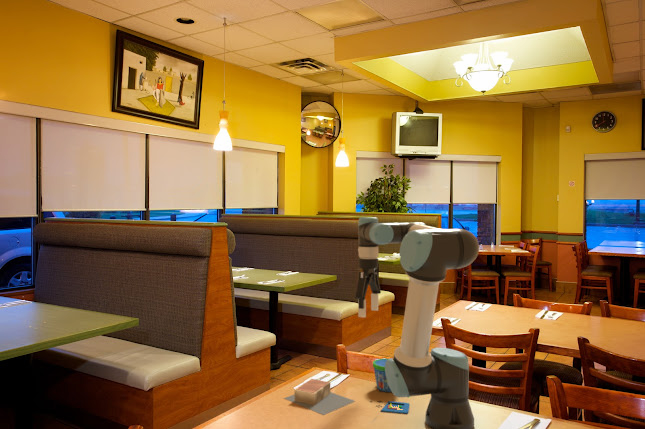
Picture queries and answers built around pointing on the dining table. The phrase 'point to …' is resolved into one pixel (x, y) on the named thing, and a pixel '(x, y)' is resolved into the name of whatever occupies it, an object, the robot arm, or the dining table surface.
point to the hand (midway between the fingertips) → (368, 313)
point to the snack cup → (381, 375)
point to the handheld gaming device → (394, 410)
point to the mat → (324, 403)
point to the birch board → (312, 391)
